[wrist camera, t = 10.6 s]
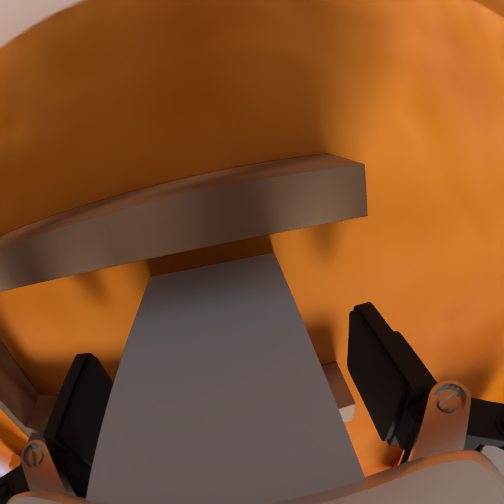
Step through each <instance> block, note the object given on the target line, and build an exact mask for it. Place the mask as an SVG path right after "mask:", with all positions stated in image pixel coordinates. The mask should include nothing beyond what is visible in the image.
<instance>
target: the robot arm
mask: <svg viewBox="0 0 504 504" xmlns="http://www.w3.org/2000/svg"><path fill="white" fill-rule="evenodd" d="M347 366H348V370H349V373H350V375H351V377H352V379H353V381H354V383H355V385H356V387H357V389H358V391H359V393H360V395H361V398H362V400H363V402H364V404H365V406H366V408H367V410H368V412H369V414H370V416H371V419H372V421H373V423H374V425H375V427H376V429H377V431H378V434H379V436H380V438H381V439H382V441H386V440H387V442H388V444H389V446H392V445H394V444H397V443H399V445H400V447H401V449H403V453H402V455H401V458H400V461H399V463H398V466H395V467H392V468H390V469H387V470H384V471H381V472H379V473H376V474H373V475H370V476H367V477H365V479H364V480H361V481H358V482H355V483H352V484H349V485H345V486H342V487H339V488H335V489H332V490H328V491H324V492H321V493H317V494H312V495H308V496H304V497H299V498H294V499H289V500H284V501H278V502H272V503H266V504H504V477H503V476H504V404H502V403H496V402H490V401H485V400H480V399H475V398H471V395H470V392H469V390H468V389H467V388H466V386H465V385H463V384H462V383H460V382H458V381H454V380H445V381H441V382H439V383H437V382H436V381H435V379H434V378H433V376H432V375H431V374H430V372H429V371H428V369H427V368H426V367H425V365H424V364H423V363H422V361H421V360H420V358H419V357H418V356H417V354H416V353H415V352H414V350H413V349H412V348H411V346H410V345H409V344H408V342H407V341H406V340H405V338H404V337H403V336H402V335H401V334H400V333H399V332H398V331H394V332H393V330H392V329H391V328H390V326H389V325H388V324H387V322H386V321H385V320H384V319H383V317H382V316H381V315H380V313H379V312H378V311H377V309H376V308H375V307H374V306H373V304H372V303H371V302H367V303H364V304H360V305H356V306H354V310H353V311H350V314H349V339H348V357H347ZM112 387H113V382H112V380H111V379H110V377H109V376H108V374H107V373H106V371H105V370H104V368H103V366H102V365H101V363H100V362H99V360H98V359H97V357H94V356H93V355H92V354H91V353H85V354H77V355H76V357H75V359H74V361H73V363H72V365H71V367H70V370H69V372H68V374H67V376H66V379H65V381H64V383H63V386H62V388H61V390H60V393H59V395H58V398H57V400H56V402H55V405H54V407H53V410H52V413H51V415H50V418H49V420H48V423H47V426H46V429H45V431H44V434H43V438H44V439H45V440H46V441H45V443H44V442H42V441H40V440H32V441H30V442H28V443H27V444H26V445H25V446H24V448H23V449H22V452H21V456H20V459H21V465H19V466H18V467H16V468H15V469H13V470H12V471H10V472H8V473H7V474H5V475H4V476H2V477H1V478H0V504H107V503H101V502H95V501H90V500H86V496H87V490H88V485H89V479H90V474H91V469H92V465H93V460H94V456H95V451H96V447H97V443H98V438H99V434H100V430H101V426H102V423H103V419H104V415H105V411H106V408H107V404H108V401H109V397H110V394H111V390H112Z"/></svg>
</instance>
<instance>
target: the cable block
mask: <svg viewBox="0 0 504 504" xmlns="http://www.w3.org/2000/svg"><path fill="white" fill-rule="evenodd" d="M364 479H365V477H364V474H363V472H362V469H361V466H360V464H359V461H358V458H357V456H356V453H355V450H354V448H353V445H352V443H351V440H350V437H349V435H348V432H347V430H346V427H345V424H344V422H343V419H342V417H341V414H340V412H339V409H338V407H337V404H336V402H335V399H334V396H333V394H332V391H331V389H330V386H329V384H328V381H327V379H326V376H325V374H324V371H323V369H322V366H321V364H320V361H319V359H318V357H317V354H316V352H315V349H314V347H313V344H312V342H311V339H310V337H309V335H308V332H307V330H306V327H305V325H304V322H303V320H302V318H301V315H300V313H299V310H298V308H297V306H296V303H295V301H294V298H293V296H292V294H291V291H290V289H289V287H288V284H287V282H286V279H285V277H284V275H283V272H282V270H281V268H280V265H279V263H278V261H277V258H276V256H275V254H274V253H269V254H264V255H259V256H254V257H249V258H244V259H239V260H234V261H229V262H224V263H218V264H213V265H208V266H203V267H198V268H193V269H188V270H183V271H178V272H173V273H167V274H162V275H157V276H152V277H151V278H150V280H149V283H148V285H147V288H146V290H145V293H144V296H143V298H142V301H141V303H140V306H139V309H138V312H137V314H136V317H135V320H134V323H133V325H132V328H131V331H130V334H129V337H128V340H127V343H126V346H125V349H124V352H123V355H122V358H121V361H120V364H119V367H118V370H117V374H116V377H115V380H114V383H113V387H112V390H111V394H110V397H109V401H108V404H107V408H106V411H105V415H104V419H103V423H102V426H101V430H100V434H99V438H98V443H97V447H96V451H95V456H94V460H93V465H92V469H91V474H90V479H89V485H88V490H87V496H86V500H90V501H95V502H101V503H107V504H266V503H272V502H278V501H284V500H289V499H294V498H299V497H304V496H308V495H312V494H317V493H321V492H324V491H328V490H332V489H335V488H339V487H342V486H345V485H349V484H352V483H355V482H358V481H361V480H364Z"/></svg>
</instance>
